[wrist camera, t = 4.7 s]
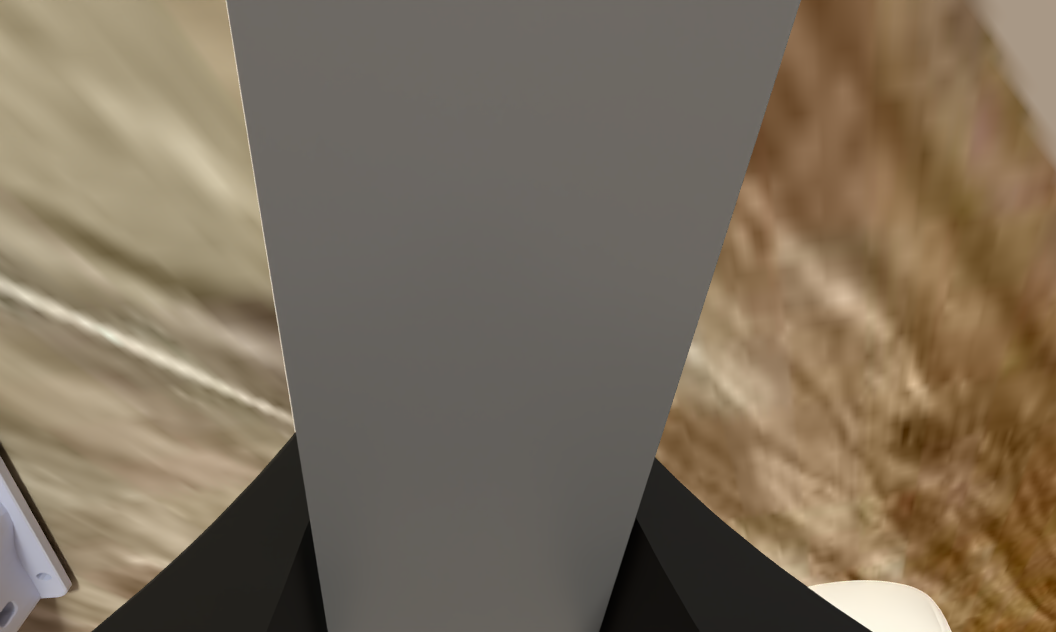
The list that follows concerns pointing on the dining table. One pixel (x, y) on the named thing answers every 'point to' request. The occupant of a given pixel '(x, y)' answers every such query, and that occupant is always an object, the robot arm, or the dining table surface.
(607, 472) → the matte grey box
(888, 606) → the theatrical mask
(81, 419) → the dining table surface
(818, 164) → the dining table surface
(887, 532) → the dining table surface
